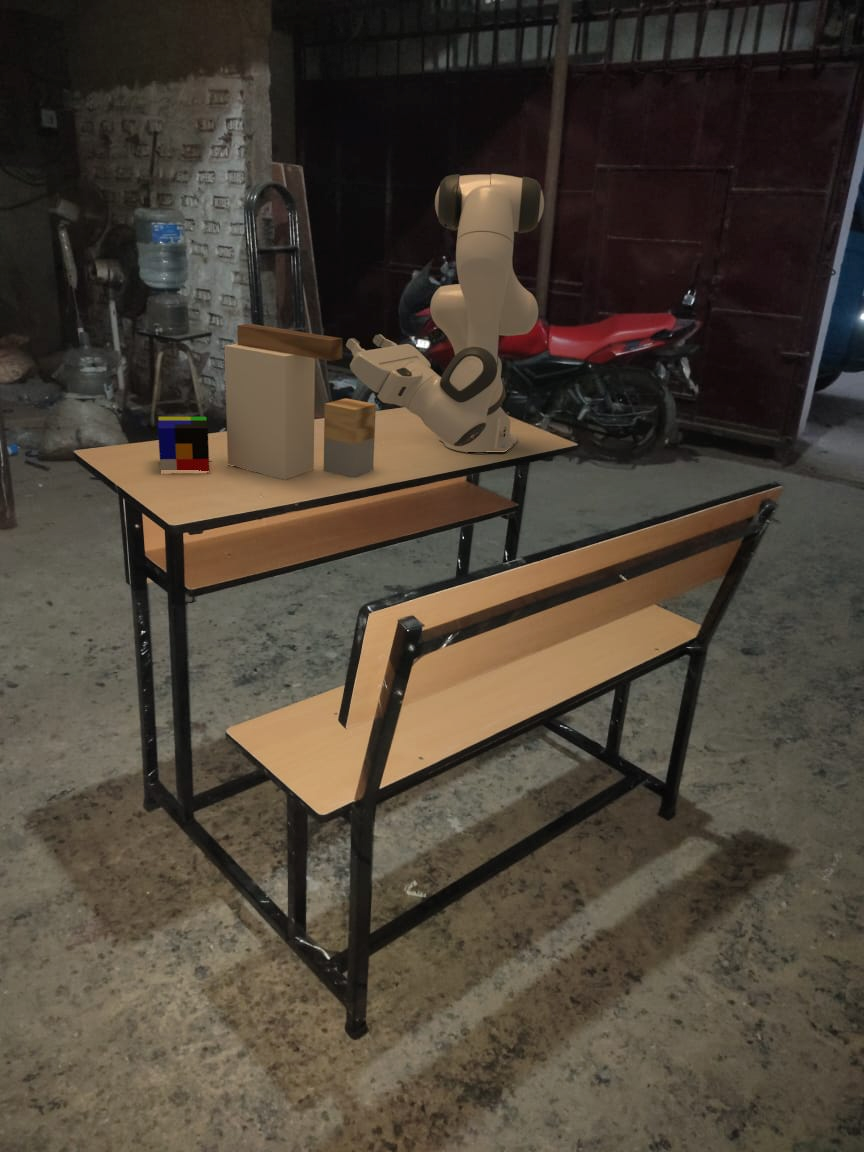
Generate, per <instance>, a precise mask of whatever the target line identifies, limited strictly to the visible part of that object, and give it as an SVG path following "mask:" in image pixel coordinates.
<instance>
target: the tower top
mask: <svg viewBox="0 0 864 1152" xmlns="http://www.w3.org/2000/svg"><path fill="white" fill-rule="evenodd" d="M376 405H377V404H376V403H372V402H367V401H363V400H362V401H361V400H358V399H357V400H356V399H351V398H342V399H339V400H334V401H330V402H327V403H324V417H323V418H324V421H323V423H324V425H323V426H324V428H323V429H324V430H323V439H324V438H327V439H332V440H336V441H341V442H345V443H350V444H357V443H360V442H363V441H366V440H369V439H372V438H374V439H375V436H376V435H375V433H376V407H377V406H376Z"/></svg>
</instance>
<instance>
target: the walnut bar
mask: <svg viewBox="0 0 864 1152" xmlns="http://www.w3.org/2000/svg"><path fill="white" fill-rule="evenodd" d="M236 329H237V331H236V332H237V344H238V345H242V346H247V347H253V348H259V349H265V350H270V351H276V352H282V353H288V354H293V355H299V356H305V357H311V358H315V360H316V359H317V360H323V361H327V362H328V361H329V362H332V361H336V360H342V359H343V338H342V337H335V336H328V335H323V334H316V333H311V332H304V331H297V330H292V329H284V328H278V327H273V326H272V327H271V326H266V325H259V324H253V323H246V324H238V325H237V328H236Z"/></svg>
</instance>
